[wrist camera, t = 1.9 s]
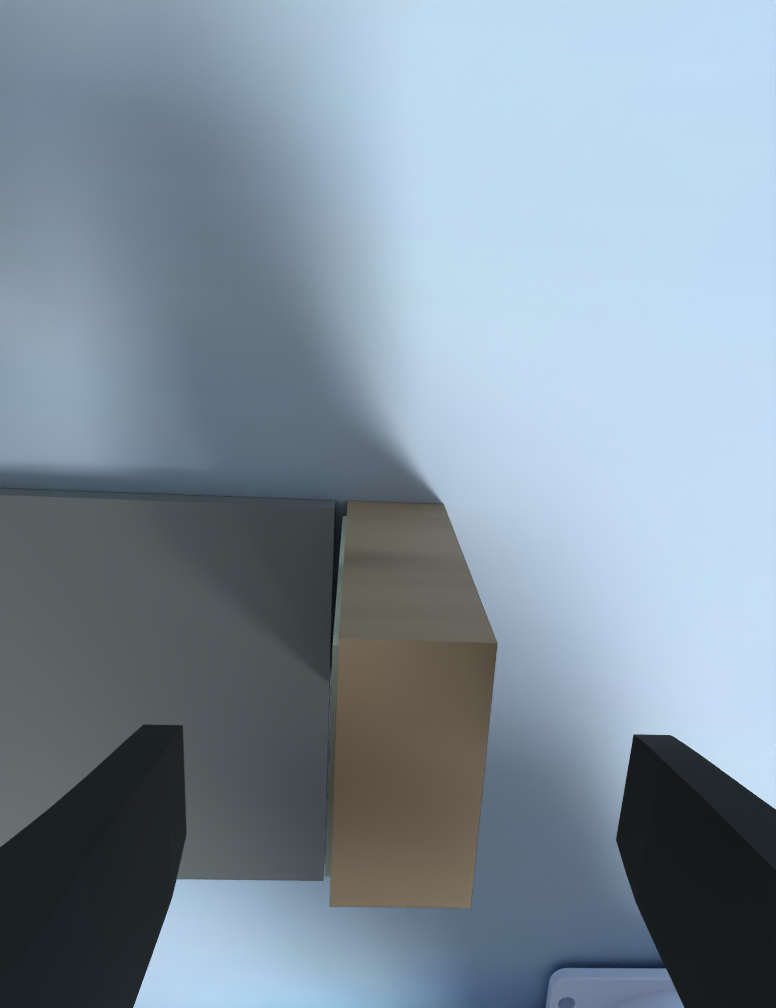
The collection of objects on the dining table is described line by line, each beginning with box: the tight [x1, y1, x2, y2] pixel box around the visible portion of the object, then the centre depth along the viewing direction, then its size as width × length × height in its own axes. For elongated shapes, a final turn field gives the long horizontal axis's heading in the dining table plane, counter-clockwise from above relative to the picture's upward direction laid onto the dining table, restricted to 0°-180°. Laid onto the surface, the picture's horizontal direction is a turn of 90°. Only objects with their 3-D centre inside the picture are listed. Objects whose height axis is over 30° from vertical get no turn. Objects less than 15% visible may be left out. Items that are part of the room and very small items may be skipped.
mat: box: [0, 488, 335, 881], centre depth 19 cm, size 11×11×1 cm
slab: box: [325, 500, 497, 908], centre depth 15 cm, size 5×2×8 cm, turn 177°
